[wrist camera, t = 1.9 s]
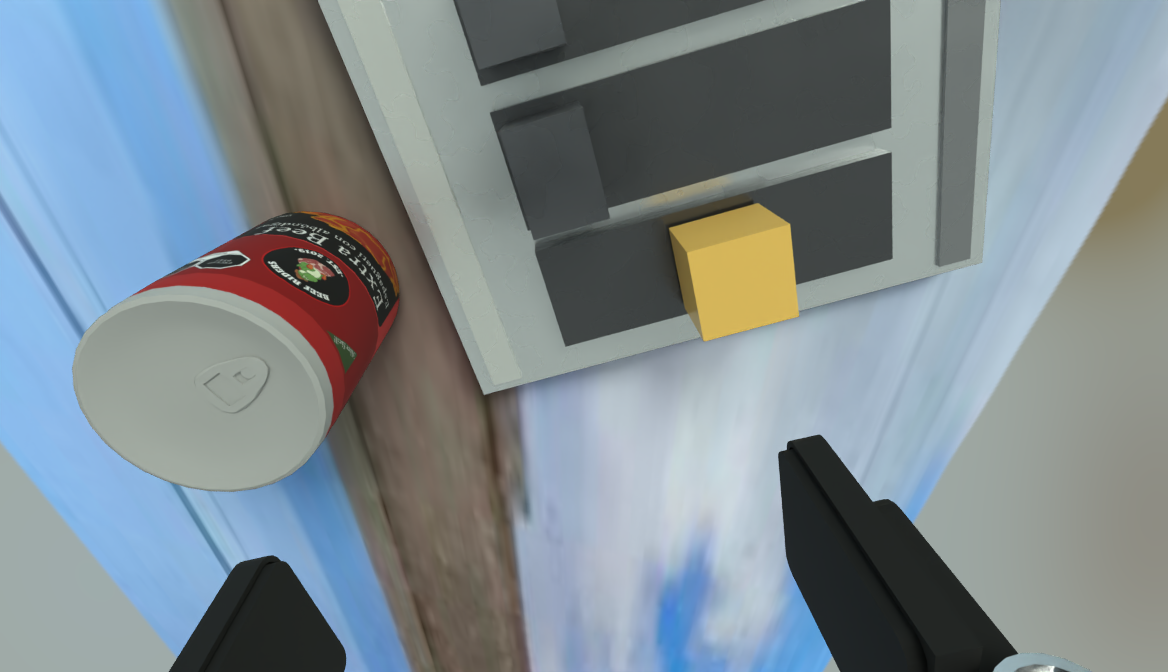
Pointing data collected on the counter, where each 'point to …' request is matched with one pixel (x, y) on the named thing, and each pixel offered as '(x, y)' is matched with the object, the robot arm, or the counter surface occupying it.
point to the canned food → (240, 353)
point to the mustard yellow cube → (736, 270)
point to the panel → (667, 152)
